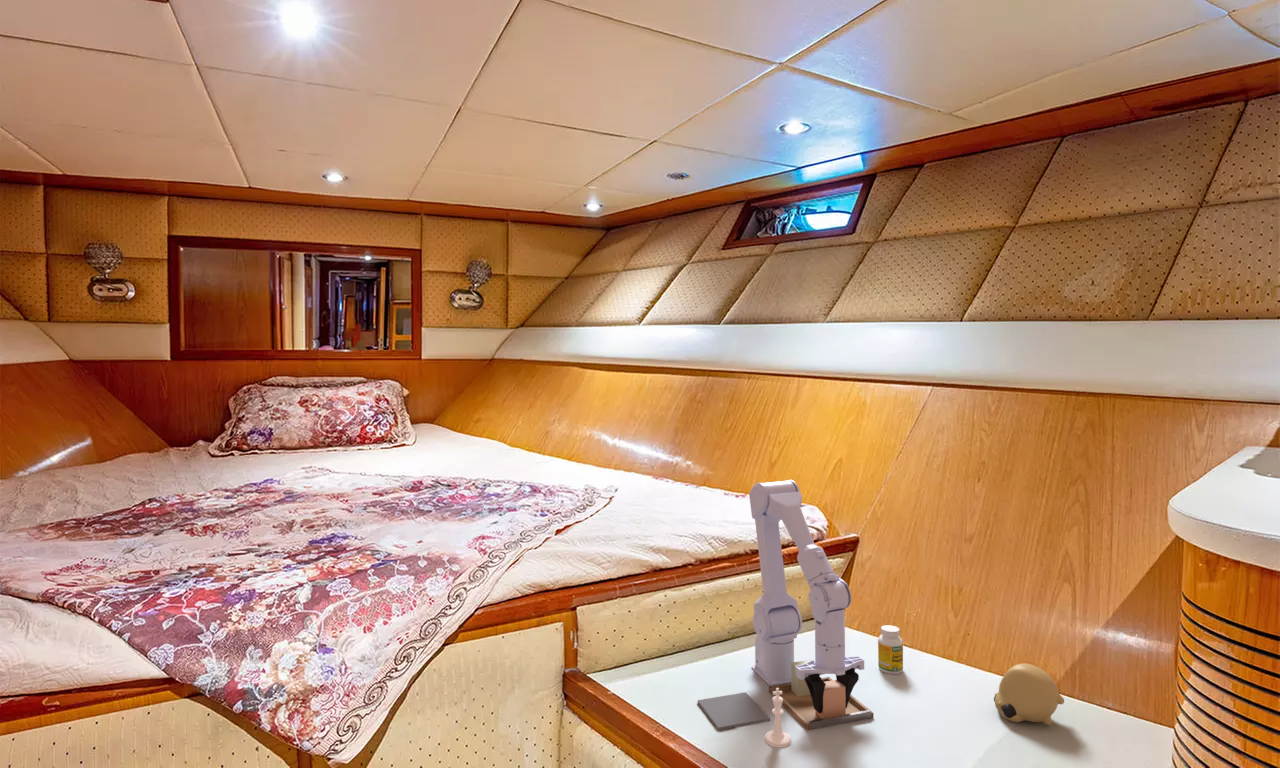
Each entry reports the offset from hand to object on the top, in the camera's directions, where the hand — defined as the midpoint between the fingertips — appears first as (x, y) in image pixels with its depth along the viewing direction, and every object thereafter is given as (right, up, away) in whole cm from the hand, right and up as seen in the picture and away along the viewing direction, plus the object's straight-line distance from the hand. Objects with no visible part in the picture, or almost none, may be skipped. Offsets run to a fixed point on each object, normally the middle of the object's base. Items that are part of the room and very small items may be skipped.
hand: (830, 708), depth 134 cm
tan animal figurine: (+38, -1, -2) cm, 38 cm away
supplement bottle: (+19, -1, +19) cm, 27 cm away
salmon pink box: (0, -1, 0) cm, 1 cm away
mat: (-19, -2, +2) cm, 19 cm away
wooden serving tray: (-1, -1, +4) cm, 4 cm away
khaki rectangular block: (-3, -1, +9) cm, 10 cm away
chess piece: (-12, -2, -9) cm, 15 cm away
